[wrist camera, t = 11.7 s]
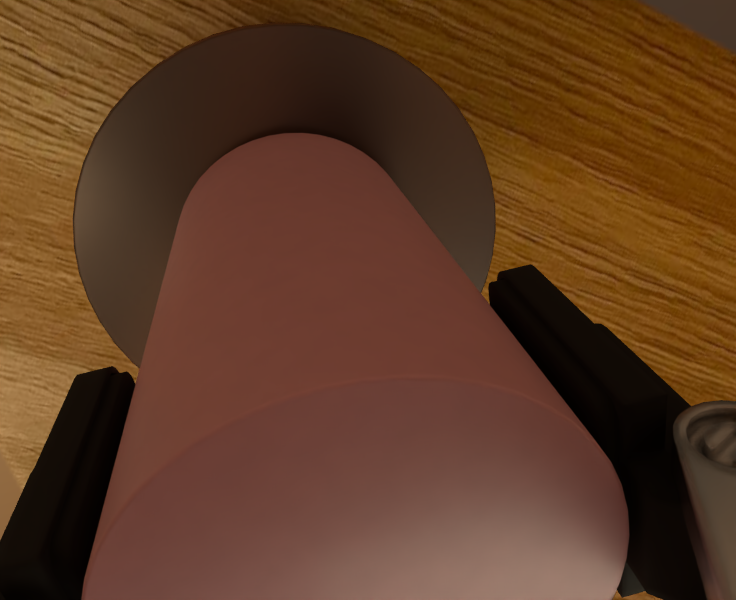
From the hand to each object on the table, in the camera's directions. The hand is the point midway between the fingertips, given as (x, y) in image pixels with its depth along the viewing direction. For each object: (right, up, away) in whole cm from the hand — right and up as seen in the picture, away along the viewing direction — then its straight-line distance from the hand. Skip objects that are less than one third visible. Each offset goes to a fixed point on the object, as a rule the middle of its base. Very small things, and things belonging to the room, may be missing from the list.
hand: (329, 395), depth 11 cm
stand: (-3, +7, +14) cm, 16 cm away
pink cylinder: (-1, +3, +5) cm, 6 cm away
